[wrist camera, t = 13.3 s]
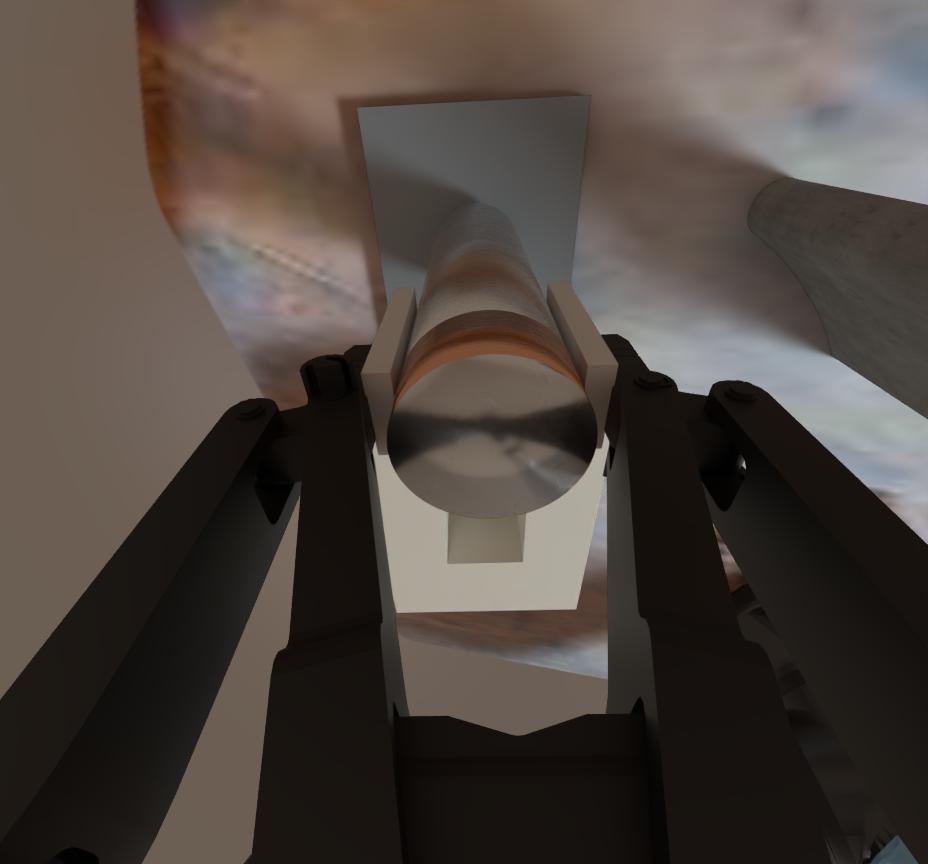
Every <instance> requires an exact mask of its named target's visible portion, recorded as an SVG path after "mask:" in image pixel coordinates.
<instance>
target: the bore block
mask: <svg viewBox="0 0 928 864" xmlns="http://www.w3.org/2000/svg"><path fill="white" fill-rule="evenodd" d="M608 448H609V440H608V438H607V436H606V433H605V435H604V440H603V445H602V448H601V449H596V450H595V454H594V457H593V459H592V461H591V463H590V466H589V467H588V469H587V470H586V472H585V474H584V475H583V476H582V478H581V479H580V480H579V481H578V482H577V484H576V485H574V486H573V487H572V488H571V489H570V490H569V491H568V492H567V493H565V494H564V495H563V496H561V497H560V498H559V499H557V500H555V501H553V502H552V503H550V504H548V505H546V506H544V507H542V508H540V509H537V510H534V511H532V512H529V513H525V514H522V515H518V516H512V517H506V518H495V519H480V518H471V517H464V516H460V515H455V514H452V513H449V512H445V511H443V510H441V509H438V508H436V507H434V506H432V505H430V504H428V503H426V502H425V501H423V500H422V499H420V498H419V497H417V496H416V495H415V494H414V493H413V492H411V491H410V490H409V489H408V488H407V487H406V486H405V484H404V483H403V482H402V481H401V480H400V478H399V477H398V475H397V474H396V472H395V470H394V468H393V466H392V464H391V462H390V458H389V455H378V452H377V447H376V443H375V444H374V448H373V455H374V460H375V465H376V472H377V480H378V488H379V495H380V503H381V510H382V518H383V526H384V533H385V541H386V548H387V556H388V564H389V571H390V579H391V586H392V594H393V599H394V603H395V607H396V611H397V613H408V612H460V611H513V610H565V609H576V608H577V603H578V599H579V594H580V589H581V585H582V580H583V576H584V571H585V566H586V562H587V557H588V552H589V548H590V543H591V538H592V534H593V529H594V524H595V520H596V515H597V510H598V506H599V501H600V496H601V492H602V487H603V482H604V478H605V477H604V476H603V471H604V467H605V462H606V457H607V452H608Z"/></svg>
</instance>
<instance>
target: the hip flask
mask: <svg viewBox="0 0 928 864" xmlns="http://www.w3.org/2000/svg"><path fill="white" fill-rule="evenodd" d="M748 224H749V227H750V229H751V231H752V232H753V233H754V234H755V235H756V236H758V237H759V238H760V239H761V240H763V241H764V242H765V243H766V244H767V245H768V246H769V247H770V248H771V249H773V250H774V251H775V252H776V254H777V255H778V256H779V257H780V258H781V259H782V260H783V261H784V262H785V264H786V265H787V266H788V267H789V268H790V270H791V271H792V272H793V274H794V275H795V276H796V278H797V279H798V280H799V282H800V284H801V285H802V287H803V288H804V290H805V291H806V293H807V295H808V296H809V298H810V300H811V301H812V303H813V305H814V307H815V309H816V311H817V313H818V315H819V317H820V319H821V322H822V324H823V327H824V329H825V332H826V336H827V339H828V342H829V347H830V351H831V354H832V356H833V357H834V358H836V359H837V360H839V361H840V362H842V363H843V364H845V365H846V366H848V367H849V368H851V369H852V370H854V371H855V372H857V373H858V374H860V375H861V376H863V377H864V378H866V379H868V380H869V381H871V382H872V383H874V384H875V385H877V386H878V387H880V388H881V389H883V390H884V391H886V392H887V393H889V394H890V395H892V396H893V397H895V398H896V399H898V400H899V401H901V402H902V403H904V404H905V405H907V406H908V407H910V408H911V409H913V410H914V411H916V412H917V413H919V414H920V415H922V416H924V417H925V418H927V419H928V205H926V204H920V203H915V202H910V201H905V200H900V199H895V198H890V197H885V196H880V195H875V194H870V193H864V192H859V191H854V190H849V189H844V188H839V187H834V186H829V185H824V184H819V183H813V182H808V181H803V180H798V179H793V178H785V179H780V180H777V181H775V182H773V183H771V184H770V185H768V186H767V187H766V188H764V189H763V190H762V191H761V192H760V193H759V194H758V196H757V197H756V198H755V200H754V202H753V203H752V205H751V208H750V210H749V215H748Z"/></svg>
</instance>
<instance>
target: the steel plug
mask: <svg viewBox="0 0 928 864" xmlns="http://www.w3.org/2000/svg"><path fill="white" fill-rule="evenodd" d="M597 439H598V427H597V420H596V416H595V412H594V410H593V407H592V405H591V403H590V400H589V398H588V396H587V393H586V391H585V389H584V386H583V384H582V382H581V379H580V377H579V375H578V372H577V370H576V368H575V366H574V363H573V361H572V359H571V356H570V354H569V352H568V350H567V349H566V346H565V344H564V342H563V339H562V337H561V335H560V332H559V330H558V328H557V325H556V323H555V321H554V318H553V316H552V314H551V311H550V309H549V307H548V304H547V302H546V300H545V297H544V295H543V293H542V290H541V288H540V286H539V283H538V281H537V279H536V276H535V274H534V271H533V269H532V267H531V264H530V262H529V260H528V257H527V255H526V253H525V250H524V248H523V246H522V243H521V241H520V239H519V236H518V234H517V232H516V229H515V227H514V225H513V224H512V222H511V221H510V219H509V218H508V217H507V216H506V215H505V214H504V213H503V212H501V211H500V210H499V209H497V208H495V207H493V206H490V205H486V204H476V203H475V204H468V205H465V206H462V207H460V208H458V209H456V210H454V211H453V212H452V213H450V214H449V215H448V216H447V217H446V218H445V219H444V221H443V222H442V224H441V225H440V227H439V229H438V231H437V234H436V237H435V241H434V245H433V249H432V253H431V257H430V261H429V265H428V269H427V273H426V277H425V282H424V286H423V290H422V294H421V298H420V302H419V306H418V310H417V314H416V318H415V322H414V326H413V330H412V334H411V338H410V342H409V346H408V350H407V354H406V358H405V362H404V365H403V368H402V371H401V375H400V379H399V383H398V387H397V391H396V395H395V399H394V403H393V407H392V411H391V415H390V419H389V424H388V428H387V440H386V441H387V450H388V454H389V458H390V462H391V464H392V466H393V468H394V470H395V472H396V474H397V475H398V477H399V478H400V480H401V481H402V482H403V483H404V484H405V486H406V487H407V488H408V489H409V490H410V491H411V492H413V493H414V494H415V495H416V496H417V497H419V498H420V499H422V500H423V501H425V502H426V503H428V504H430V505H432V506H434V507H436V508H438V509H441V510H443V511H445V512H449V513H452V514H455V515H460V516H464V517H471V518H480V519H495V518H506V517H512V516H518V515H522V514H525V513H529V512H532V511H534V510H537V509H540V508H542V507H544V506H546V505H548V504H550V503H552V502H553V501H555V500H557V499H559V498H560V497H561V496H563V495H564V494H565V493H567V492H568V491H569V490H570V489H571V488H572V487H573V486H574V485H576V484H577V482H578V481H579V480H580V479H581V478H582V476H583V475H584V474H585V472H586V470H587V469H588V467H589V466H590V463H591V461H592V459H593V457H594V454H595V450H596V446H597Z"/></svg>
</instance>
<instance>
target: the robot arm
mask: <svg viewBox="0 0 928 864" xmlns="http://www.w3.org/2000/svg"><path fill="white" fill-rule="evenodd" d="M546 302H547V304H548V307H549V309H550V311H551V314H552V316H553V318H554V321H555V323H556V325H557V328H558V330H559V332H560V335H561V337H562V339H563V342H564V344H565V346H566V349H567V350H568V352H569V354H570V356H571V359H572V361H573V363H574V366H575V368H576V370H577V372H578V375H579V377H580V379H581V382H582V384H583V386H584V389H585V391H586V393H587V396H588V398H589V400H590V403H591V405H592V407H593V410H594V412H595V416H596V420H597V427H598V439H597V446H596V449H601V448H602V445H603V440H604V435H605V433H606V436H607V438H608V440H609V448H608V452H607V457H606V462H605V467H604V471H603V476H604V477H607V583H608V700H607V708H606V714H586V715H583V716H580V717H577V718H574V719H571V720H568V721H565V722H562V723H559V724H556V725H553V726H550V727H547V728H544V729H541V730H538V731H535V732H532V733H529V734H526V735H522V736H515V735H510V734H507V733H503V732H500V731H497V730H493V729H490V728H487V727H483V726H480V725H476V724H473V723H470V722H467V721H463V720H460V719H456V718H453V717H450V716H410V715H409V710H408V705H407V699H406V692H405V685H404V678H403V670H402V663H401V655H400V647H399V639H398V632H397V624H396V617H395V609H394V602H393V594H392V586H391V579H390V571H389V564H388V556H387V548H386V541H385V533H384V526H383V518H382V510H381V503H380V495H379V488H378V480H377V472H376V465H375V460H374V455H373V448H374V444H375V443H376V447H377V452H378V455H389V454H388V450H387V441H386V440H387V428H388V424H389V419H390V415H391V411H392V407H393V403H394V399H395V395H396V391H397V387H398V383H399V379H400V375H401V371H402V368H403V365H404V362H405V358H406V354H407V350H408V346H409V342H410V338H411V334H412V330H413V326H414V322H415V318H416V314H417V302H416V293H415V288H395V290H394V292H393V295H392V297H391V300H390V302H389V305H388V307H387V310H386V312H385V315H384V317H383V319H382V322H381V324H380V327H379V329H378V332H377V334H376V337H375V339H374V342H373V344H372V345H354V346H353V347H351V348H350V349H349V350H347V351H346V352H345V353H344V355H337V354H335V355H324V356H320V357H316V358H314V359H312V360H309V361H307V362H306V363H305V364H303V365H302V367H301V368H300V373H301V377H302V380H303V383H304V386H305V389H306V393H307V396H308V404H307V405H305V406H301V407H298V408H293V409H289V410H284V411H279V409H278V406H277V404H276V403H275V401H273V400H271V399H266V398H256V399H248V400H246V401H241V402H240V403H238V404H236V405H235V406H232V407H231V408H230V409H228V410H227V411H226V412H225V413H224V414H223V416H222V417H221V418H220V419H219V421H218V422H217V423H216V425H215V426H214V427H213V428H212V430H211V431H210V432H209V433H208V435H207V436H206V437H205V439H204V440H203V441H202V442H201V444H200V445H199V446H198V448H197V449H196V450H195V452H194V453H193V454H192V455H191V457H190V458H189V459H188V460H187V462H186V463H185V464H184V465H183V467H182V468H181V469H180V471H179V472H178V473H177V474H176V476H175V477H174V478H173V480H172V481H171V482H170V483H169V485H168V486H167V488H166V489H165V490H164V491H163V492H162V494H161V495H160V496H159V497H158V499H157V500H156V501H155V503H154V504H153V505H152V507H151V508H150V509H149V510H148V512H147V513H146V514H145V516H144V517H143V518H142V519H141V520H140V522H139V523H138V524H137V526H136V527H135V528H134V529H133V531H132V532H131V533H130V535H129V536H128V537H127V538H126V540H125V541H124V542H123V544H122V545H121V546H120V548H119V549H118V550H117V551H116V553H115V554H114V555H113V557H112V558H111V559H110V560H109V561H108V563H107V564H106V565H105V567H104V568H103V569H102V570H101V572H100V573H99V574H98V576H97V577H96V578H95V579H94V581H93V582H92V583H91V584H90V586H89V587H88V588H87V590H86V591H85V592H84V594H83V595H82V596H81V597H80V599H79V600H78V601H77V602H76V604H75V605H74V606H73V608H72V609H71V610H70V611H69V613H68V614H67V615H66V616H65V618H64V619H63V620H62V622H61V623H60V624H59V625H58V627H57V628H56V629H55V631H54V632H53V633H52V634H51V636H50V637H49V638H48V639H47V641H46V642H45V643H44V645H43V646H42V647H41V648H40V650H39V651H38V652H37V654H36V655H35V656H34V657H33V659H32V660H31V661H30V663H29V664H28V665H27V666H26V668H25V669H24V670H23V671H22V673H21V674H20V675H19V677H18V678H17V679H16V681H15V682H14V683H13V684H12V686H11V687H10V688H9V689H8V691H7V692H6V693H5V694H4V696H3V697H2V698H1V700H0V864H142V862H143V860H144V858H145V856H146V855H147V853H148V851H149V849H150V847H151V845H152V843H153V842H154V840H155V838H156V836H157V834H158V832H159V829H160V827H161V825H162V823H163V821H164V819H165V816H166V814H167V812H168V810H169V808H170V805H171V803H172V801H173V799H174V797H175V795H176V792H177V790H178V788H179V785H180V783H181V780H182V778H183V775H184V773H185V771H186V768H187V766H188V763H189V761H190V759H191V756H192V754H193V751H194V749H195V747H196V744H197V741H198V739H199V737H200V735H201V732H202V730H203V727H204V725H205V723H206V720H207V718H208V715H209V713H210V710H211V708H212V706H213V703H214V701H215V698H216V696H217V694H218V691H219V689H220V686H221V684H222V681H223V679H224V676H225V674H226V672H227V670H228V667H229V665H230V662H231V660H232V658H233V655H234V653H235V650H236V648H237V646H238V643H239V641H240V638H241V636H242V633H243V631H244V629H245V626H246V624H247V621H248V619H249V617H250V614H251V612H252V609H253V607H254V605H255V602H256V600H257V597H258V595H259V593H260V590H261V588H262V585H263V583H264V581H265V578H266V576H267V573H268V571H269V568H270V566H271V564H272V561H273V559H274V556H275V554H276V551H277V549H278V547H279V544H280V542H281V540H282V537H283V535H284V532H285V530H286V528H287V525H288V523H289V520H290V518H291V515H292V513H293V511H294V508H295V506H296V503H297V501H298V499H299V496H300V508H299V520H298V534H297V546H296V559H295V571H294V584H293V596H292V609H291V622H290V634H289V640H288V644H287V647H286V648H285V649H282V650H280V651H278V653H277V655H276V657H275V659H274V662H273V668H272V673H271V679H270V689H269V698H268V708H267V717H266V726H265V736H264V745H263V754H262V764H261V773H260V783H259V792H258V801H257V811H256V820H255V829H254V839H253V848H252V854H251V855H250V856H249V858H248V859H247V860H246V862H245V863H244V864H928V545H927V544H926V543H925V542H924V541H923V540H922V539H921V538H920V537H919V536H918V535H917V534H916V533H915V532H914V531H913V530H912V529H911V528H910V527H909V526H907V525H906V524H905V523H904V522H903V521H902V520H901V519H900V518H899V517H898V516H897V515H896V514H895V513H894V512H893V511H892V510H891V509H890V508H889V507H888V506H886V505H885V504H884V503H883V502H882V501H881V500H880V499H879V498H878V497H877V496H876V495H875V494H874V493H873V492H872V491H871V490H870V489H869V488H868V487H866V486H865V485H864V484H863V483H862V482H861V481H860V480H859V479H858V478H857V477H856V476H855V475H854V474H853V473H852V472H851V471H850V470H849V469H848V468H846V467H845V466H844V465H843V464H842V463H841V462H840V461H839V460H838V459H837V458H836V457H835V456H834V455H833V454H832V453H831V452H830V451H829V450H828V449H826V448H825V447H824V446H823V445H822V444H821V443H820V442H819V441H818V440H817V439H816V438H815V437H814V436H813V435H812V434H811V433H810V432H809V431H808V430H806V429H805V428H804V427H803V426H802V425H801V424H800V423H799V422H798V421H797V420H796V419H795V418H794V417H793V416H792V415H791V414H790V413H789V412H788V411H786V410H785V409H784V408H783V407H782V406H781V405H780V404H779V403H778V402H777V401H776V400H775V399H774V398H773V397H772V396H771V395H770V394H769V393H767V392H766V391H764V390H763V389H761V388H760V387H757V386H755V385H752V384H751V383H748V382H743V381H739V380H736V381H731V380H726V381H719V382H717V383H715V384H713V385H712V387H711V390H710V392H709V395H708V396H705V395H698V394H690V393H684V392H679V391H678V388H677V385H676V383H675V382H674V380H673V379H671V378H670V377H668V376H667V375H664V374H661V373H659V372H654V371H650V370H649V369H648V368H647V366H646V365H645V363H644V362H643V361H642V359H641V358H640V356H638V354H637V352H636V351H635V350H634V348H633V347H632V345H631V344H630V342H629V341H628V340H626V339H625V338H623V337H621V336H619V335H618V334H607V335H600V333H599V331H598V330H597V328H596V326H595V325H594V323H593V322H592V320H591V318H590V317H589V315H588V313H587V312H586V310H585V308H584V307H583V305H582V303H581V302H580V300H579V298H578V297H577V295H576V294H575V292H574V290H573V289H572V287H571V285H570V284H569V282H568V281H562V282H548V285H547V298H546ZM744 460H745V465H746V470H745V468H744V467H743V466H742V464H743V462H744ZM300 494H301V495H300ZM712 522H713V523H712ZM713 524H714V526H715V527H716V529H717V531H718V533H719V534H720V536H721V538H722V539H723V541H724V543H725V544H726V546H727V548H728V550H729V551H730V553H731V555H732V556H733V558H734V560H735V562H736V563H737V565H738V567H739V568H740V570H741V572H742V574H743V575H744V577H745V579H746V580H747V582H748V584H749V585H747V586H745V587H743V588H741V589H740V590H738V591H736V592H735V593H733V594H732V595H731V593H730V589H729V585H728V581H727V577H726V573H725V569H724V566H723V562H722V558H721V554H720V550H719V546H718V542H717V539H716V535H715V531H714V527H713Z"/></svg>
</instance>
